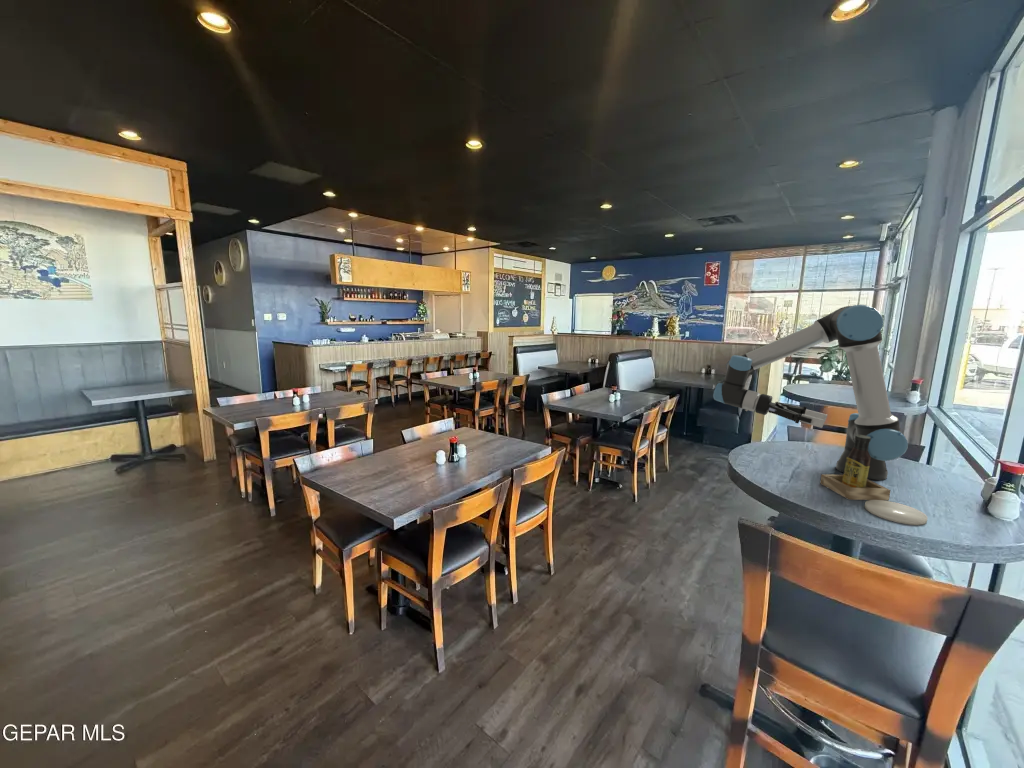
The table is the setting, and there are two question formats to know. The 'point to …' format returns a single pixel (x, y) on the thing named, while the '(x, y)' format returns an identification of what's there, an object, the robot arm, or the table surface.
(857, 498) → the tray
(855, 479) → the sauce bottle
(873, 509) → the saucer
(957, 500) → the table surface
